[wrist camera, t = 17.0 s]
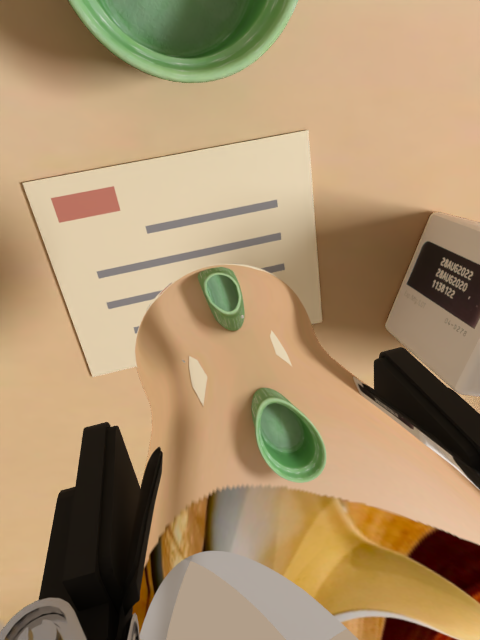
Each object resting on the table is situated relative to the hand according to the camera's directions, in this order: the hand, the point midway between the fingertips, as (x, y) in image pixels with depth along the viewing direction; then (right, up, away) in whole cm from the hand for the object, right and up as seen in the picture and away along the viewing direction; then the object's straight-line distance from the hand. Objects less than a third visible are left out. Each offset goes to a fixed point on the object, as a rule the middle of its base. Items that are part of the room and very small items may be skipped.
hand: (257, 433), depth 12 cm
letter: (-3, +6, +13) cm, 15 cm away
